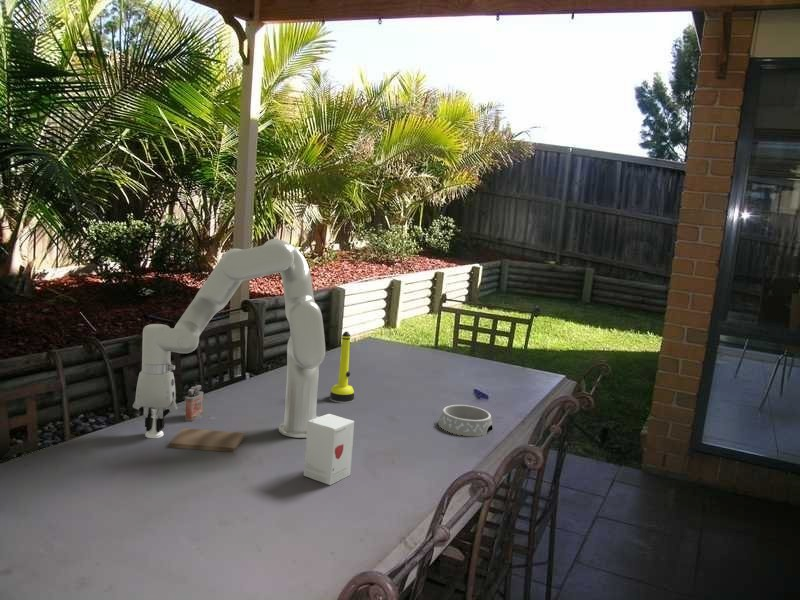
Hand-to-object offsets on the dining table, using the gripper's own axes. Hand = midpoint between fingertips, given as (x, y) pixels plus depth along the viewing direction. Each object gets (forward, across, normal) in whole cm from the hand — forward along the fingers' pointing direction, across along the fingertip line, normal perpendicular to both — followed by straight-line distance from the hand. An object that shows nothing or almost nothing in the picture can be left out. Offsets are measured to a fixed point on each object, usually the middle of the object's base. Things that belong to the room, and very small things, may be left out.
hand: (154, 429), depth 186 cm
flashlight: (+2, -50, -48) cm, 69 cm away
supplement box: (+2, -52, +19) cm, 55 cm away
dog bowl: (+2, -93, -28) cm, 97 cm away
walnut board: (+2, -16, +2) cm, 16 cm away
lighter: (+2, -6, -17) cm, 18 cm away
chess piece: (+2, 0, 0) cm, 2 cm away
